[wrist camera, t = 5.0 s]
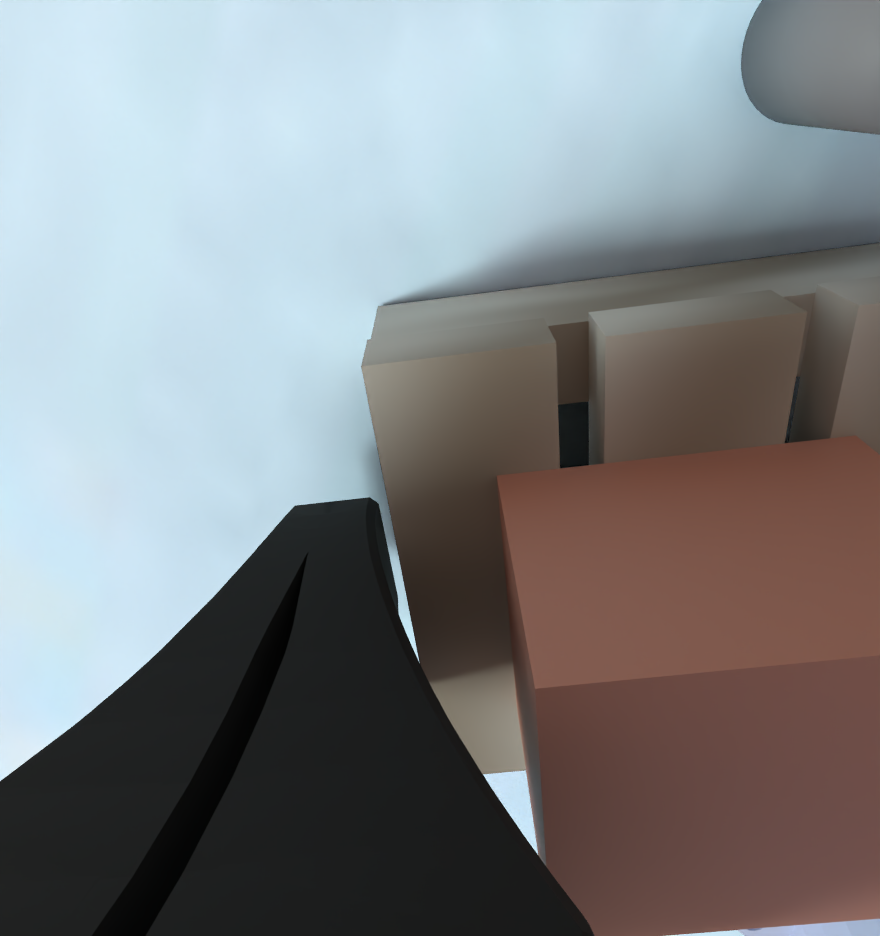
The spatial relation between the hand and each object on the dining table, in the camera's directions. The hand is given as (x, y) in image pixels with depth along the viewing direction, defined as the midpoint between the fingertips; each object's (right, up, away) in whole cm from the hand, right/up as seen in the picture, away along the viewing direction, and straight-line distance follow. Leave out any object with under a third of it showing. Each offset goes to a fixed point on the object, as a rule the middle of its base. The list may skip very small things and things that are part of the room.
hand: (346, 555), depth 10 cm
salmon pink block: (+4, 0, -1) cm, 5 cm away
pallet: (+4, +1, +1) cm, 5 cm away
